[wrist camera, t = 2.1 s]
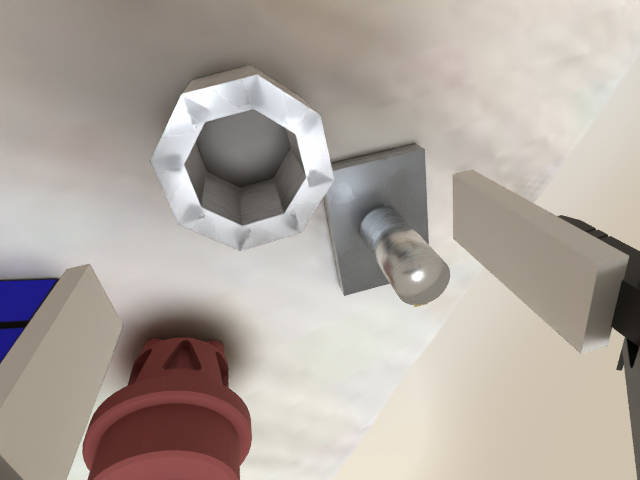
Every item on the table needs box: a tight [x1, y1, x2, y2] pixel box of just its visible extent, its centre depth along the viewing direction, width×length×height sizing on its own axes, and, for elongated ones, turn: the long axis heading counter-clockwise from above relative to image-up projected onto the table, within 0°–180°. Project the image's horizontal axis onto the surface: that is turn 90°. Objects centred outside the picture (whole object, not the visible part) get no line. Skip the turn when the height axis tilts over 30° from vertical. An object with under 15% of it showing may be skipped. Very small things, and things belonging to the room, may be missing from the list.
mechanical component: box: [82, 338, 252, 480], centre depth 27 cm, size 12×10×10 cm
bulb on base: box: [323, 144, 450, 307], centre depth 26 cm, size 10×7×8 cm
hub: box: [150, 65, 334, 251], centre depth 22 cm, size 8×8×6 cm
